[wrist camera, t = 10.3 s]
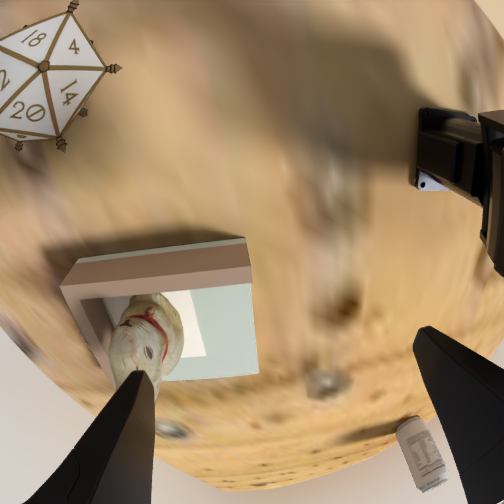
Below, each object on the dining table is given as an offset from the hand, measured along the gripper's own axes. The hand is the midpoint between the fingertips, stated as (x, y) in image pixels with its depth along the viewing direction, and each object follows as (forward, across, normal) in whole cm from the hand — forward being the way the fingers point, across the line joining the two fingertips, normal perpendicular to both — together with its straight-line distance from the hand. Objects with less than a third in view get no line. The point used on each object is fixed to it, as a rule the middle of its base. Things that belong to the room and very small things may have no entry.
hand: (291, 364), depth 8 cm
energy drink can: (+13, -26, +43) cm, 52 cm away
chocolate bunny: (+12, +8, +8) cm, 17 cm away
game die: (+13, +11, -11) cm, 20 cm away
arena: (+13, +7, +9) cm, 17 cm away
